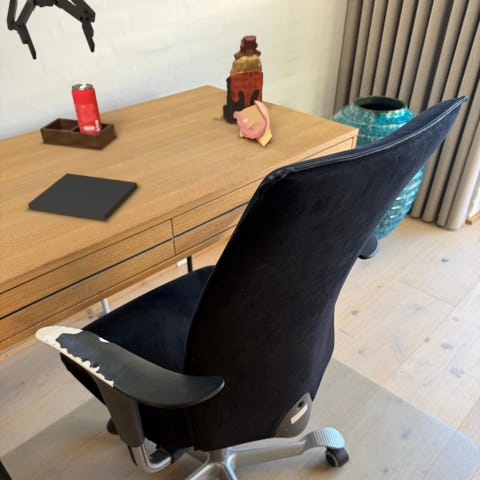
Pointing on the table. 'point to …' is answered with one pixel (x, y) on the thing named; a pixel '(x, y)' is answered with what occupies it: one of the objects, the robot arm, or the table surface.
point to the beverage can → (86, 108)
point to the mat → (84, 196)
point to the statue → (244, 79)
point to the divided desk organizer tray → (76, 134)
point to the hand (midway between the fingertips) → (64, 52)
